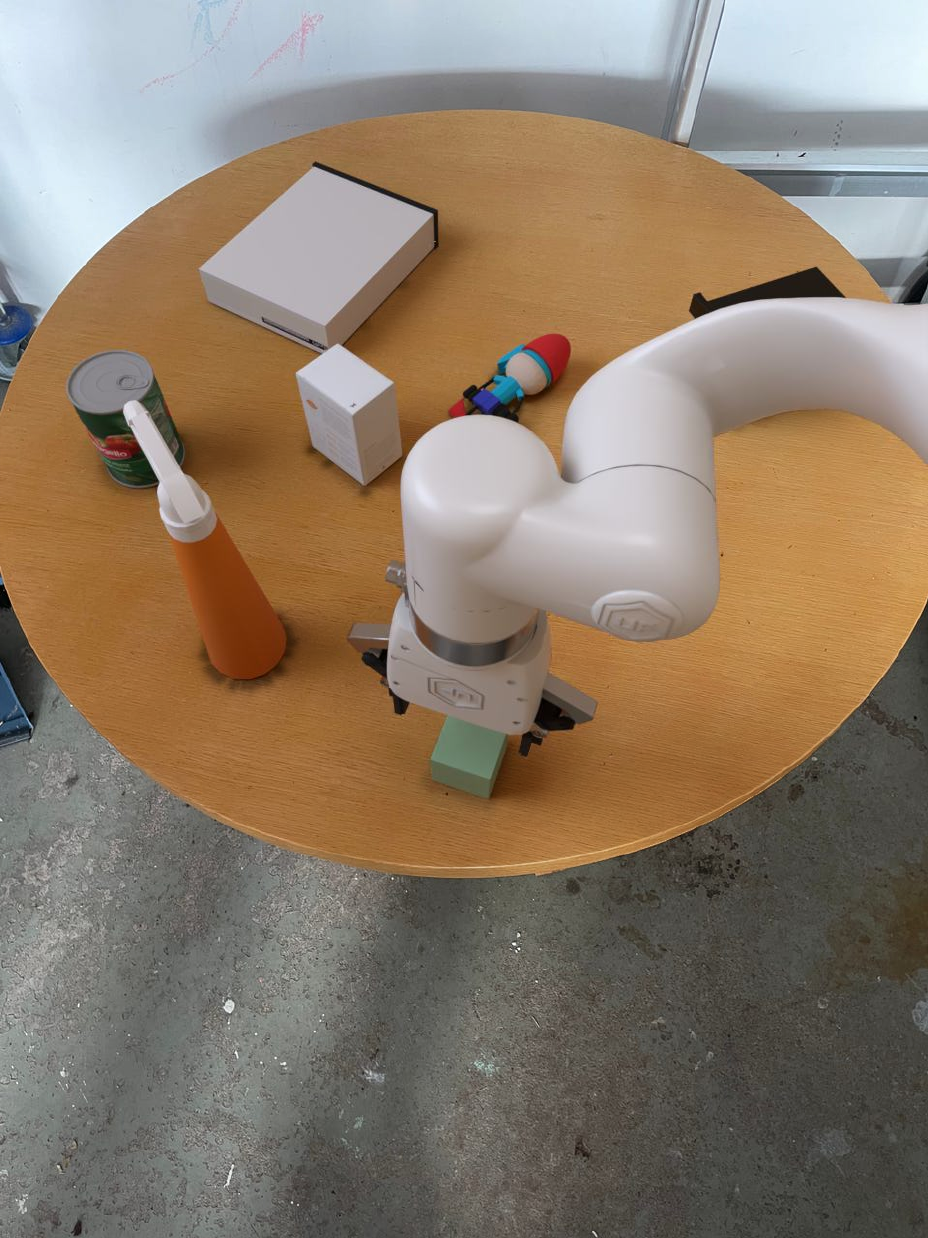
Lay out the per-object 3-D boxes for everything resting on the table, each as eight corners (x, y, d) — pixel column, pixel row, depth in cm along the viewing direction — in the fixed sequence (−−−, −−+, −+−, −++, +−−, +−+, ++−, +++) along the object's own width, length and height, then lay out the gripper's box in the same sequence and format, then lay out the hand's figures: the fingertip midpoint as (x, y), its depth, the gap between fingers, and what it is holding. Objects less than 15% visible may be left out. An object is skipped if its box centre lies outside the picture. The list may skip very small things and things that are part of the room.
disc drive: (439, 245, 105) (438, 208, 101) (332, 359, 96) (326, 324, 91) (321, 198, 110) (315, 160, 105) (207, 302, 100) (196, 266, 96)
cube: (507, 745, 74) (510, 723, 69) (488, 799, 71) (490, 779, 67) (451, 727, 74) (451, 704, 70) (431, 780, 72) (430, 759, 68)
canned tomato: (98, 487, 87) (54, 410, 77) (117, 427, 91) (77, 347, 81) (177, 490, 87) (142, 413, 77) (192, 430, 91) (161, 350, 81)
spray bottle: (248, 570, 82) (167, 362, 59) (301, 656, 78) (235, 467, 55) (179, 605, 80) (67, 404, 57) (228, 695, 76) (129, 515, 53)
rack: (795, 314, 100) (821, 253, 93) (859, 384, 94) (891, 325, 87) (675, 353, 97) (693, 293, 89) (734, 429, 91) (757, 371, 84)
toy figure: (493, 460, 91) (592, 371, 94) (486, 430, 86) (590, 338, 89) (445, 423, 94) (542, 339, 97) (436, 393, 90) (537, 306, 93)
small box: (403, 457, 89) (397, 382, 80) (364, 488, 87) (353, 416, 78) (350, 416, 92) (338, 340, 83) (310, 446, 90) (293, 371, 81)
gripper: (308, 610, 49) (340, 725, 64) (603, 704, 47) (564, 802, 62) (359, 509, 53) (378, 641, 68) (636, 592, 50) (592, 710, 65)
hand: (467, 717), depth 65 cm, fingers open, 9 cm apart
